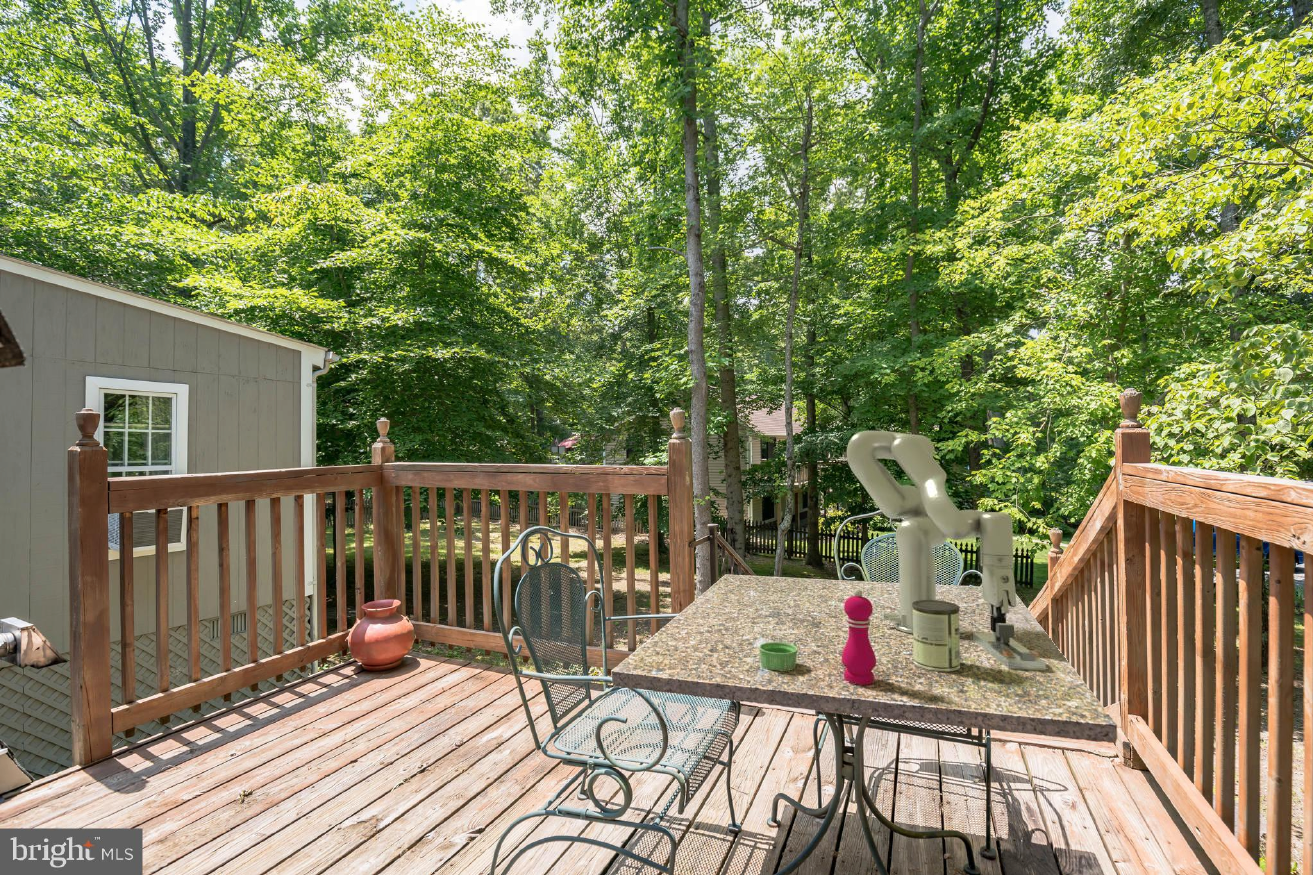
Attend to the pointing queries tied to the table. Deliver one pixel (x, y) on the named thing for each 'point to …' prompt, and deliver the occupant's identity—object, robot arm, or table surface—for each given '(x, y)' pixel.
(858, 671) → the pepper mill
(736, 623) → the table surface
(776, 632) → the table surface
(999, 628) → the fader tab
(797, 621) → the table surface
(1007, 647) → the console
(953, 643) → the coffee can
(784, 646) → the ramekin
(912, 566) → the robot arm
